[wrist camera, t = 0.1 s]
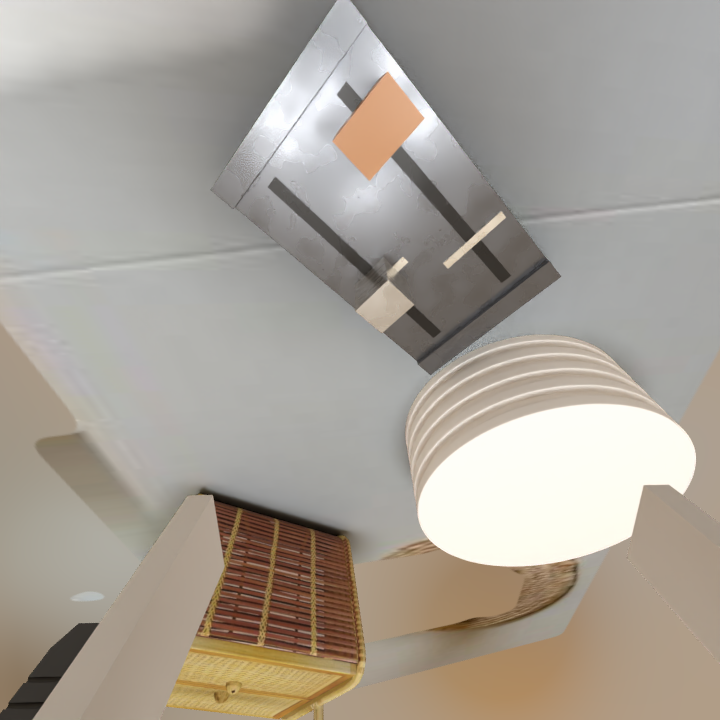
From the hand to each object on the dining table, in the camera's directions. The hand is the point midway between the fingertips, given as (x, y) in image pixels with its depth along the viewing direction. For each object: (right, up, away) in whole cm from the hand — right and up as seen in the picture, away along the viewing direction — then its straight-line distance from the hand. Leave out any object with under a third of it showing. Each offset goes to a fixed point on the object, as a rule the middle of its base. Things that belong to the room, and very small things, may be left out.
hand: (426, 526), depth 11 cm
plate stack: (+18, -3, +37) cm, 41 cm away
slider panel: (+1, +17, +22) cm, 28 cm away
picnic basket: (-20, -25, +52) cm, 61 cm away
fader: (-1, +22, +14) cm, 26 cm away
